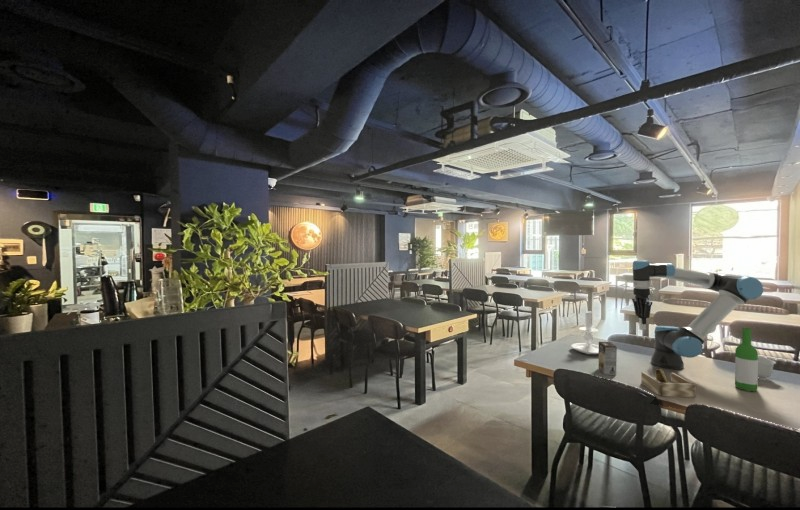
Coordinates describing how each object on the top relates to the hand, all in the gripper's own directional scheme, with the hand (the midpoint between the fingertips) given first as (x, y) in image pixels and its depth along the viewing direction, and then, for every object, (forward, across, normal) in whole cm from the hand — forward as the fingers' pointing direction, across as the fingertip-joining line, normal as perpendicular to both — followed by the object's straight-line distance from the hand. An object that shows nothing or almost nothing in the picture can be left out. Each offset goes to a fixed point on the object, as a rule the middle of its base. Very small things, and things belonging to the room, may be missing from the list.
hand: (642, 329), depth 185 cm
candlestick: (+24, -32, -14) cm, 42 cm away
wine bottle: (+26, +22, +34) cm, 48 cm away
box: (+24, +22, -5) cm, 33 cm away
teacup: (+26, +9, +54) cm, 61 cm away
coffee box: (+24, 0, -20) cm, 31 cm away
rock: (+24, +20, -5) cm, 32 cm away
